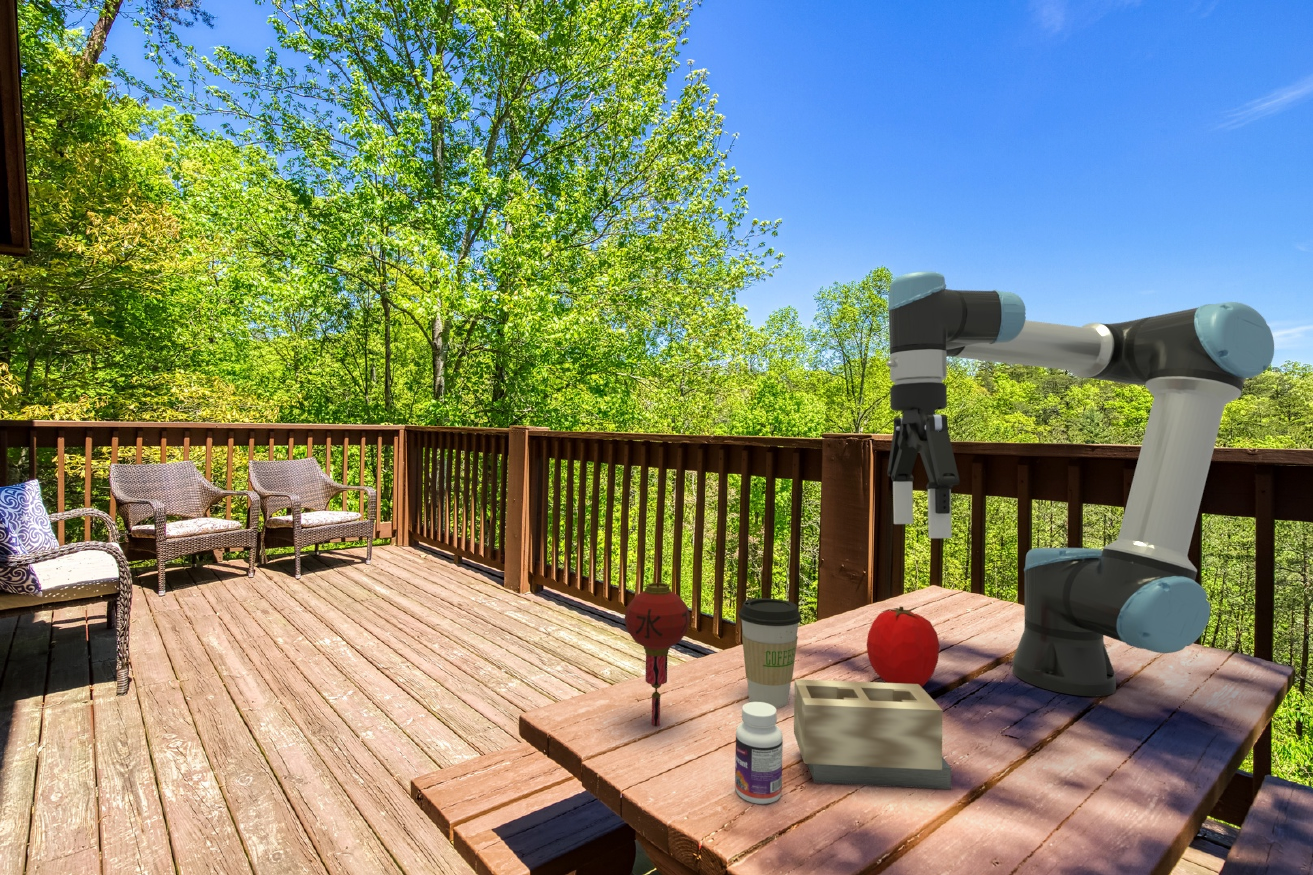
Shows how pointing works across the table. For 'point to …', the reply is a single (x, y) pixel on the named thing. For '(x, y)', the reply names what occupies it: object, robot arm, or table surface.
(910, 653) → the tomato
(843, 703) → the cinder block
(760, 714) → the pill bottle
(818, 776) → the post rail
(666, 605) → the lantern
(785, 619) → the coffee cup
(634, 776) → the table surface
